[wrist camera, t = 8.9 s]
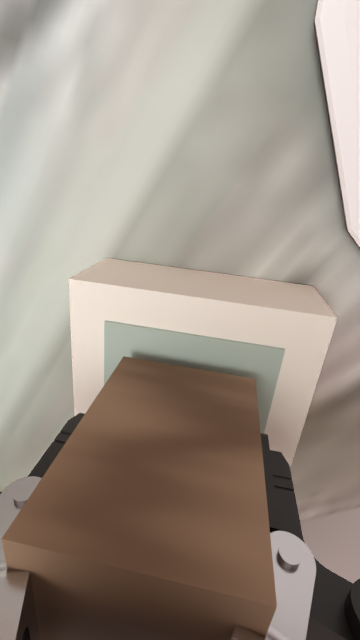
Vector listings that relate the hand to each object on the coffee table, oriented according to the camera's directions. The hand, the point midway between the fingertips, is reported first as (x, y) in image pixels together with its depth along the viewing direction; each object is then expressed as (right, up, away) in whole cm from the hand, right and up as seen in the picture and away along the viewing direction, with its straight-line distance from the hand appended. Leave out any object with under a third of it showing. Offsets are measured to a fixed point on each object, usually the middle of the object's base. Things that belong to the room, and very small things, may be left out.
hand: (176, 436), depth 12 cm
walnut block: (0, 0, +1) cm, 1 cm away
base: (+1, +2, +5) cm, 6 cm away
